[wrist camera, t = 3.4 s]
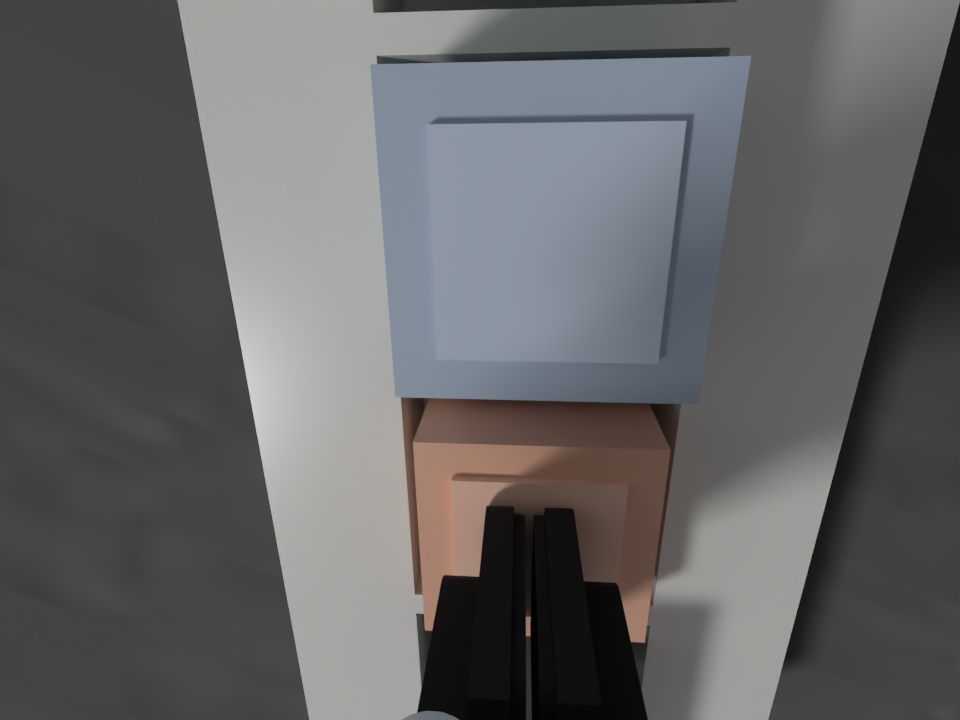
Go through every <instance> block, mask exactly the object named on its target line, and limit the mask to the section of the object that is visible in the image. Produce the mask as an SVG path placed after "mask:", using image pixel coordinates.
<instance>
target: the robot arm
mask: <svg viewBox="0 0 960 720" xmlns="http://www.w3.org/2000/svg"><path fill="white" fill-rule="evenodd" d="M530 649H531V709H532V720H648V718H647V713H646V709H645V704H644V699H643V695H642V690H641V686H640V681H639V677H638V672H637V667H636V663H635V658H634V654H633V649H632V645H631V640H630V636H629V631H628V626H627V622H626V617H625V613H624V608H623V604H622V599H621V594H620V591H619V587H618V585H617V583H611V582H589V581H584V579H583V571H582V564H581V557H580V550H579V543H578V536H577V529H576V522H575V515H574V510H573V509H571V508H545V511H544V515H534V521H533V553H532V587H531V620H530ZM402 720H526V582H525V515H522V514H514V507H513V506H486V513H485V523H484V533H483V543H482V553H481V563H480V573H479V577H475V576H452V575H444V576H443V578H442V582H441V586H440V591H439V597H438V602H437V608H436V613H435V618H434V624H433V629H432V635H431V640H430V645H429V651H428V656H427V662H426V667H425V672H424V678H423V683H422V689H421V694H420V699H419V705H418V710H417V713H415V714H411V715H409V716H407V717H405V718H404V719H402Z"/></svg>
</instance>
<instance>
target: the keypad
mask: <svg viewBox="0 0 960 720" xmlns="http://www.w3.org/2000/svg"><path fill="white" fill-rule="evenodd" d="M959 3H960V0H178V6H179V11H180V17H181V22H182V28H183V33H184V39H185V44H186V49H187V55H188V60H189V66H190V71H191V77H192V82H193V88H194V93H195V99H196V104H197V109H198V115H199V120H200V126H201V131H202V137H203V142H204V148H205V153H206V159H207V164H208V169H209V175H210V180H211V186H212V191H213V197H214V202H215V208H216V213H217V218H218V224H219V229H220V235H221V240H222V246H223V251H224V257H225V262H226V268H227V273H228V278H229V284H230V289H231V295H232V300H233V306H234V311H235V317H236V322H237V328H238V333H239V338H240V344H241V349H242V355H243V360H244V366H245V371H246V377H247V382H248V388H249V393H250V398H251V404H252V409H253V415H254V420H255V426H256V431H257V437H258V442H259V447H260V453H261V458H262V464H263V469H264V475H265V480H266V486H267V491H268V497H269V502H270V507H271V513H272V518H273V524H274V529H275V535H276V540H277V546H278V551H279V557H280V562H281V567H282V573H283V578H284V584H285V589H286V595H287V600H288V606H289V611H290V617H291V622H292V627H293V633H294V638H295V644H296V649H297V655H298V660H299V666H300V671H301V677H302V682H303V687H304V693H305V698H306V704H307V709H308V715H309V720H402V719H404V718H405V717H407V716H409V715H411V714H415V713H417V710H418V705H419V699H420V694H421V689H422V683H423V678H424V672H425V667H426V662H427V656H428V651H429V645H430V640H431V635H432V631H426V630H425V624H424V608H423V593H422V577H421V562H420V546H419V531H418V515H417V500H416V484H415V469H414V453H413V440H414V438H415V435H416V432H417V430H418V427H419V424H420V422H421V419H422V416H423V413H424V411H425V408H426V405H427V403H428V400H429V398H404V397H395V386H394V373H393V360H392V347H391V333H390V320H389V307H388V293H387V280H386V267H385V253H384V240H383V227H382V214H381V200H380V187H379V174H378V160H377V147H376V134H375V121H374V107H373V94H372V81H371V67H370V64H408V63H453V62H498V61H543V60H588V59H633V58H678V57H723V56H751V62H750V68H749V75H748V82H747V88H746V95H745V101H744V108H743V115H742V121H741V128H740V134H739V141H738V148H737V154H736V161H735V167H734V174H733V180H732V187H731V194H730V200H729V207H728V213H727V220H726V227H725V233H724V240H723V246H722V253H721V260H720V266H719V273H718V279H717V286H716V293H715V299H714V306H713V312H712V319H711V326H710V332H709V339H708V345H707V352H706V358H705V365H704V372H703V378H702V385H701V391H700V398H699V404H657V403H649V404H650V406H651V409H652V411H653V413H654V415H655V417H656V419H657V421H658V424H659V426H660V428H661V430H662V432H663V434H664V436H665V439H666V441H667V443H668V445H669V447H670V449H671V452H670V460H669V467H668V474H667V482H666V489H665V496H664V504H663V511H662V519H661V526H660V533H659V541H658V548H657V555H656V563H655V570H654V578H653V585H652V592H651V600H650V607H649V614H648V622H647V629H646V637H645V643H642V642H631V645H632V649H633V654H634V658H635V663H636V667H637V672H638V677H639V681H640V686H641V690H642V695H643V699H644V704H645V709H646V713H647V718H648V720H768V718H769V715H770V711H771V707H772V703H773V700H774V696H775V692H776V688H777V685H778V681H779V677H780V673H781V670H782V666H783V662H784V658H785V655H786V651H787V647H788V643H789V640H790V636H791V632H792V628H793V625H794V621H795V617H796V613H797V610H798V606H799V602H800V598H801V595H802V591H803V587H804V583H805V580H806V576H807V572H808V568H809V565H810V561H811V557H812V553H813V550H814V546H815V542H816V538H817V535H818V531H819V527H820V524H821V520H822V516H823V512H824V509H825V505H826V501H827V497H828V494H829V490H830V486H831V482H832V479H833V475H834V471H835V467H836V464H837V460H838V456H839V452H840V449H841V445H842V441H843V437H844V434H845V430H846V426H847V422H848V419H849V415H850V411H851V407H852V404H853V400H854V396H855V392H856V389H857V385H858V381H859V377H860V374H861V370H862V366H863V362H864V359H865V355H866V351H867V347H868V344H869V340H870V336H871V333H872V329H873V325H874V321H875V318H876V314H877V310H878V306H879V303H880V299H881V295H882V291H883V288H884V284H885V280H886V276H887V273H888V269H889V265H890V261H891V258H892V254H893V250H894V246H895V243H896V239H897V235H898V231H899V228H900V224H901V220H902V216H903V213H904V209H905V205H906V201H907V198H908V194H909V190H910V186H911V183H912V179H913V175H914V171H915V168H916V164H917V160H918V156H919V153H920V149H921V145H922V142H923V138H924V134H925V130H926V127H927V123H928V119H929V115H930V112H931V108H932V104H933V100H934V97H935V93H936V89H937V85H938V82H939V78H940V74H941V70H942V67H943V63H944V59H945V55H946V52H947V48H948V44H949V40H950V37H951V33H952V29H953V25H954V22H955V18H956V14H957V10H958V7H959Z"/></svg>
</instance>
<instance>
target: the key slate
mask: <svg viewBox="0 0 960 720" xmlns="http://www.w3.org/2000/svg"><path fill="white" fill-rule="evenodd" d="M750 62H751V56H723V57H678V58H633V59H588V60H543V61H498V62H453V63H408V64H370V67H371V81H372V94H373V107H374V121H375V134H376V147H377V160H378V174H379V187H380V200H381V214H382V227H383V240H384V253H385V267H386V280H387V293H388V307H389V320H390V333H391V347H392V360H393V373H394V386H395V397H404V398H446V399H488V400H530V401H573V402H615V403H657V404H699V398H700V391H701V385H702V378H703V372H704V365H705V358H706V352H707V345H708V339H709V332H710V326H711V319H712V312H713V306H714V299H715V293H716V286H717V279H718V273H719V266H720V260H721V253H722V246H723V240H724V233H725V227H726V220H727V213H728V207H729V200H730V194H731V187H732V180H733V174H734V167H735V161H736V154H737V148H738V141H739V134H740V128H741V121H742V115H743V108H744V101H745V95H746V88H747V82H748V75H749V68H750Z"/></svg>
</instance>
